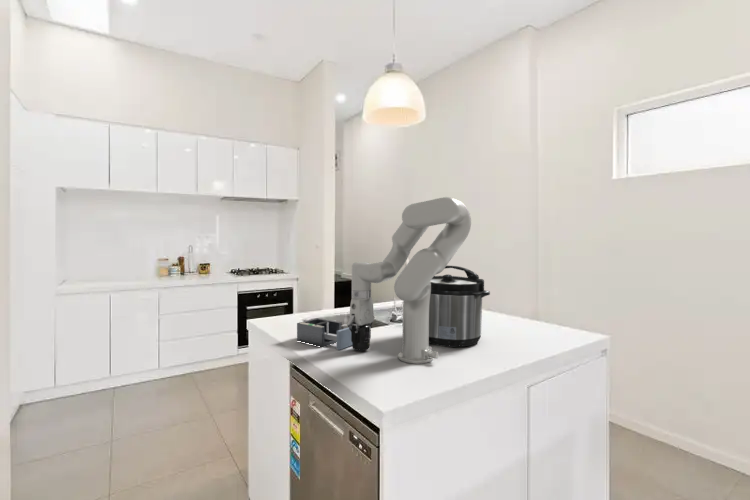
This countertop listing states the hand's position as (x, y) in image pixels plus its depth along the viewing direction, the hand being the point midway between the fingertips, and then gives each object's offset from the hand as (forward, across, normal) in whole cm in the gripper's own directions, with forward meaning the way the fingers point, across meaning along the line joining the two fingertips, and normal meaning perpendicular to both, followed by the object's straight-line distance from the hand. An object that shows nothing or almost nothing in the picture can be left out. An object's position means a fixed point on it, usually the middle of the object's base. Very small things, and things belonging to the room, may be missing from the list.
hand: (361, 340), depth 150 cm
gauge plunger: (+4, -1, +13) cm, 13 cm away
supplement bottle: (+3, 0, 0) cm, 3 cm away
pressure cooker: (+4, +35, -21) cm, 41 cm away
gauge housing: (+4, 0, +22) cm, 22 cm away
